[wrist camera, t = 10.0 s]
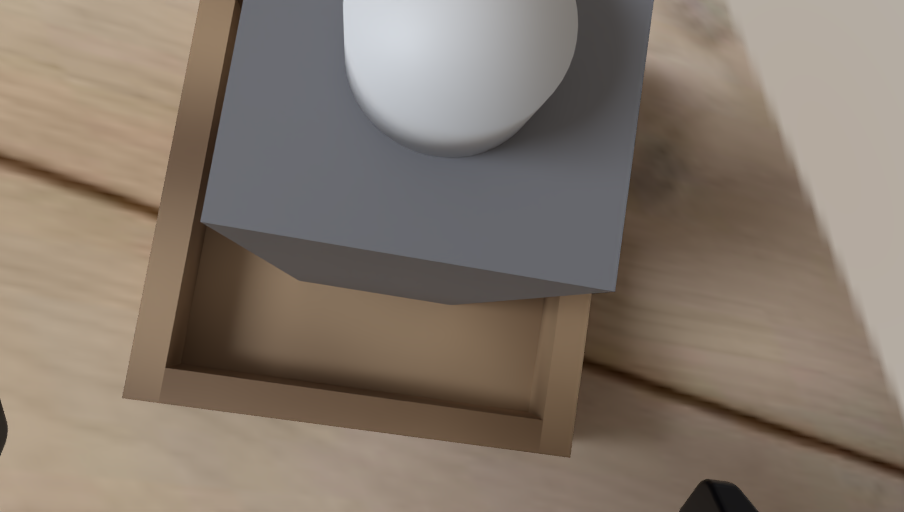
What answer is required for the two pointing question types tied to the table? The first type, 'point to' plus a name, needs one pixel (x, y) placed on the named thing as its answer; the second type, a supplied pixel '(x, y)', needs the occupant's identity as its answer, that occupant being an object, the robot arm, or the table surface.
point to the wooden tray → (333, 321)
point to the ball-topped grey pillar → (432, 143)
